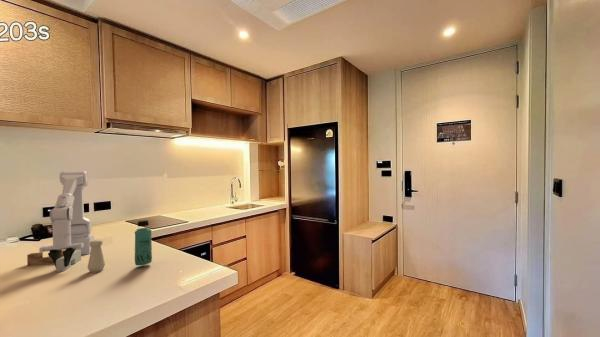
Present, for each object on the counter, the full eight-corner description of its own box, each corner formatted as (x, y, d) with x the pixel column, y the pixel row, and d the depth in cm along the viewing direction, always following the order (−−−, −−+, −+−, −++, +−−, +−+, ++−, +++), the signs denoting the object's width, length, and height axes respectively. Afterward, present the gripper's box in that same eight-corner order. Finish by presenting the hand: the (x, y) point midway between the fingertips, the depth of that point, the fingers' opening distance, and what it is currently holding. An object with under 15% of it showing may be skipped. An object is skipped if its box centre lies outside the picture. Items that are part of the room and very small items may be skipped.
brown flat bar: (68, 259, 123) (68, 249, 123) (65, 261, 121) (65, 251, 121) (31, 264, 119) (31, 253, 119) (27, 265, 116) (27, 254, 116)
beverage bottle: (131, 267, 110) (130, 221, 110) (146, 262, 116) (146, 218, 116) (140, 270, 107) (139, 222, 107) (155, 264, 113) (154, 219, 113)
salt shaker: (95, 274, 104) (94, 242, 104) (83, 273, 105) (83, 241, 105) (108, 268, 110) (108, 238, 110) (97, 268, 111) (97, 238, 111)
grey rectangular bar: (74, 260, 122) (74, 250, 122) (81, 259, 123) (80, 249, 123) (56, 271, 107) (55, 260, 108) (63, 271, 108) (63, 259, 108)
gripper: (34, 239, 104) (34, 272, 104) (77, 235, 108) (78, 267, 108) (45, 235, 111) (45, 266, 110) (85, 231, 115) (86, 261, 115)
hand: (62, 266), depth 110 cm, fingers closed on grey rectangular bar, 2 cm apart
